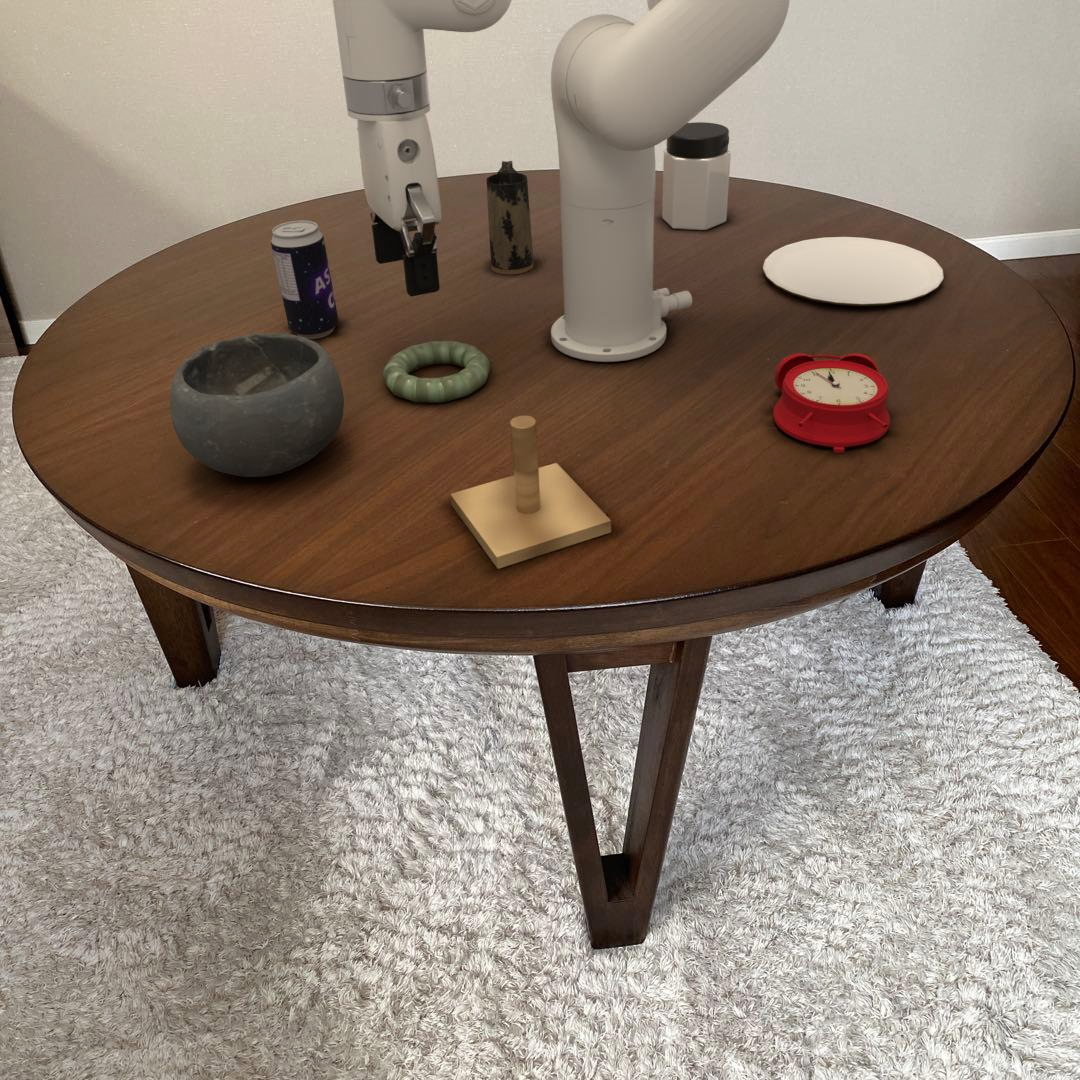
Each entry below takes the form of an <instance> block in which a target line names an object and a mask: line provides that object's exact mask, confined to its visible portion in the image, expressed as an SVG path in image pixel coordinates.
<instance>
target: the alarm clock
mask: <svg viewBox="0 0 1080 1080" xmlns="http://www.w3.org/2000/svg"><path fill="white" fill-rule="evenodd" d="M814 358H815V359H816V358H825V359H820V360H815V359H814ZM774 382H775V386H776V387H777V389H778V390H779V391H780V392H781V396H780V398H779V399H778V401H777V402H776V404H775V405H774V407H773V413H772V414H773V415H772V417H773V421H774V423H775V424H776V426H777V427H778V428H779V429H780V430H781V431H782V432H784V433H785V434H787V435H788V436H790V437H791V438H793V439H796V440H798V441H801V442H805V443H807V444H812V445H817V446H821V447H822V446H823V447H830V448H831V447H832V448H833V451H832V453H835V454H845V448H847V447H848V448H849V447H856V446H862V445H866V444H869V443H871V442H874V441H876V440H878V439H880V438H881V437H883V436H884V435H885V434H886V433H887V432H888V430H889V427H890V423H891V417H890V414H889V411H888V408H887V400H888V396H889V387H888V383H887V380H886V379H885V377H884V376H883V375H882V374H881V373H880V372H879V368H878V365H877V363H876V362H875V360H874V359H872V357H870V356H868V355H866V354H863V353H859V352H858V353H855V352H854V353H848V354H845V355H843V356H840V355H839V356H838V355H831V354H812V355H811V354H810V355H809V354H808V353H807V354H806V353H802V352H798V353H793V354H790V355H788V356H786V357H784V358H783V359H782V360H781V361H780V362H779V363H778V365H777V367H776V370H775V374H774Z"/></svg>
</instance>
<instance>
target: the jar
mask: <svg viewBox="0 0 1080 1080" xmlns="http://www.w3.org/2000/svg"><path fill="white" fill-rule="evenodd" d="M729 135H730V129H729V128H728V127H727V126H725V125H723V124H719V123H716V122H715V123H714V122H705V121H700V122H699V121H698V122H688V123H687V124H685V125H684V126H683V127H682V128H681V129H679V130H678V131H677V132H676V133H674V134H673V135H672V136H670V137H669V138H667V139H666V148H664V150H663V160H662V161H663V163H662V165H663V166H662V167H663V168H662V200H661V201H662V203H661V207H662V209H661V211H662V212H661V218H662V219H663V220H664V222H665V223H667V224H668V225H669V226H670V227H671V228H672V229H674V230H689V231H708V230H709V229H712V228H715V227H717V226H719V225H721V224H725V223H726V222H727V218H728V204H729V203H728V201H729V188H730V187H729V186H730V172H731V156H732V155H731V154H732V153H731V151H730V150H729V144H730V136H729Z"/></svg>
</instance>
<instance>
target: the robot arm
mask: <svg viewBox="0 0 1080 1080" xmlns="http://www.w3.org/2000/svg"><path fill="white" fill-rule="evenodd" d="M790 1H791V0H646V2H647V9H648V12H647V13H646V14H644V16H642V17H641V18H640V19H639V20H638V21H637V22H636V23H634V22H632V21H630V20H628V19H626V18H624V17H621V16H618V15H613V14H602V13H601V14H596V15H590V16H587V17H585V18H583V19H581V20H579V21H578V22H576V23H575V24H573V25H572V26H571V27H570V28H569V29H568V30H567V31H566V32H565V33H564V35H563V36H562V38H561V39H560V40H559V43H558V45H557V47H556V49H555V52H554V55H553V59H552V63H551V72H550V91H551V103H552V110H553V118H554V125H555V132H556V141H557V142H556V143H557V153H558V168H559V169H558V170H559V189H560V190H559V191H560V192H559V193H560V195H559V200H560V201H559V202H560V231H561V233H560V234H561V258H562V261H561V263H562V285H563V286H562V287H563V288H562V289H563V312H564V313H563V315H562V316H560V317H559V318H558V319H556V320H555V321H554V323H553V324H552V326H551V328H550V339H551V343H552V345H553V346H554V348H556V349H557V350H558V351H559V352H561V353H562V354H564V355H566V356H569V357H571V358H575V359H578V360H582V361H587V362H597V363H616V362H617V363H618V362H625V361H631V360H635V359H639V358H641V357H645V356H647V355H649V354H652V353H654V352H655V351H656V350H658V349H660V348H662V346H663V344H664V343H665V341H666V339H667V325H666V323H665V321H664V320H663V319H662V318H665V317H667V316H668V315H669V313H671V312H679V311H682V310H686V309H690V308H692V306H693V297H692V294H691V293H690V291H688V290H682V291H679V292H678V291H677V292H675V293H671V294H670V290H669V288H668V287H663V288H659V289H655V290H654V256H655V255H654V254H655V253H654V251H655V250H654V249H655V201H656V197H655V196H656V177H657V176H656V175H657V174H656V172H657V169H656V149H655V147H656V146H657V145H659V144H661V143H663V142H664V141H667V138H669V137H670V136H672V135H673V134H674V133H676V132H677V131H678V130H679V129H681V128H682V127H683V126H684V125H685V124H687V123H690V122H691V120H693V119H694V118H695V117H696V116H697V115H698V114H699V113H700V114H701V112H702V111H703V110H705V109H706V108H707V107H708V106H709V105H710V104H712V103H713V102H714V101H715V100H716V99H717V98H719V96H721V95H722V94H723V93H724V92H726V91H727V90H728V89H729V88H730V87H731V86H732V85H733V84H735V82H737V81H738V80H739V79H740V78H741V77H743V76H744V75H745V74H747V72H748V71H750V69H752V67H754V66H755V65H756V64H757V63H758V62H759V61H760V60H761V59H762V58H763V57H764V56H765V55H766V54H767V52H768V51H769V50H770V49H771V47H772V46H773V44H774V43H775V42H776V40H777V38H778V36H779V35H780V33H781V31H782V29H783V26H784V25H785V22H786V19H787V15H788V13H789V7H790ZM511 3H512V0H332V5H333V14H334V20H335V28H336V36H337V42H338V52H339V60H340V66H341V72H342V81H343V90H344V96H345V97H344V98H345V105H346V109H347V110H346V111H347V116H349V117H350V118H351V119H354V120H357V121H356V124H357V127H356V129H357V137H358V146H359V147H358V148H359V149H358V150H359V159H360V167H361V176H362V183H363V189H364V194H365V199H366V202H367V204H368V206H369V208H370V212H369V217H370V221H371V223H372V224H371V230H372V231H371V232H372V238H373V246H374V247H373V248H374V254H375V260H376V262H377V263H378V264H380V265H383V264H387V263H393V262H399V261H403V270H404V280H405V288H406V290H405V291H406V293H407V295H408V296H409V297H417V296H421V295H427V294H432V293H437V292H439V290H440V289H441V288H440V276H439V266H438V253H437V252H438V246H437V243H436V242H437V241H436V240H437V235H436V231H435V230H436V226H437V225H440V224H441V222H442V219H443V212H442V203H441V196H440V195H441V193H440V187H439V180H438V179H439V178H438V173H437V172H438V171H437V165H436V159H435V152H434V146H433V139H432V136H431V131H430V127H429V126H430V125H429V121H428V118H427V115H426V114H427V113H429V112H430V111H431V103H430V92H429V80H428V71H427V69H428V68H427V57H426V43H425V34H424V30H433V31H444V32H456V33H475V32H480V31H484V30H487V29H488V28H491V27H492V26H494V25H496V24H497V23H498V22H499V21H500V20H501V19H502V18H503V17H504V16H505V14H506V13H507V11H508V9H509V8H510V6H511ZM413 219H414V220H413ZM406 220H408V221H406ZM417 231H418V232H417ZM411 232H415V233H414V235H413V237H411V234H410V233H411Z"/></svg>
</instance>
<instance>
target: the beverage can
mask: <svg viewBox="0 0 1080 1080" xmlns="http://www.w3.org/2000/svg"><path fill="white" fill-rule="evenodd" d="M271 233H272V237H271V240H270V246H271V250H272V255H273V260H274V265H275V269H276V274H277V279H278V283H279V288H280V293H281V298H282V302H283V307H284V312H285V316H286V322H287V326H288V329H289V330H290V331H291V332H292V333H293V334H295V335H296V336H301V337H305V338H307V339H309V340H315V339H320V338H324V337H327V336H329V335H330V334H331V333H333V331H334V329H335V328H336V326H337V325H338V324H339V322H340V320H339V315H338V309H337V303H336V299H335V292H334V287H333V281H332V277H331V276H332V275H331V271H330V265H329V264H330V263H329V259H328V254H327V247H326V242H325V237H324V235H323V233H322V232H321V231H320V229H319V225H318V223H317V222H315V221H312V220H304V219H303V220H301V219H300V220H291V221H286V222H282V223H280V224H278V225H276V226H274V227H273V228H272V230H271Z"/></svg>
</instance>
